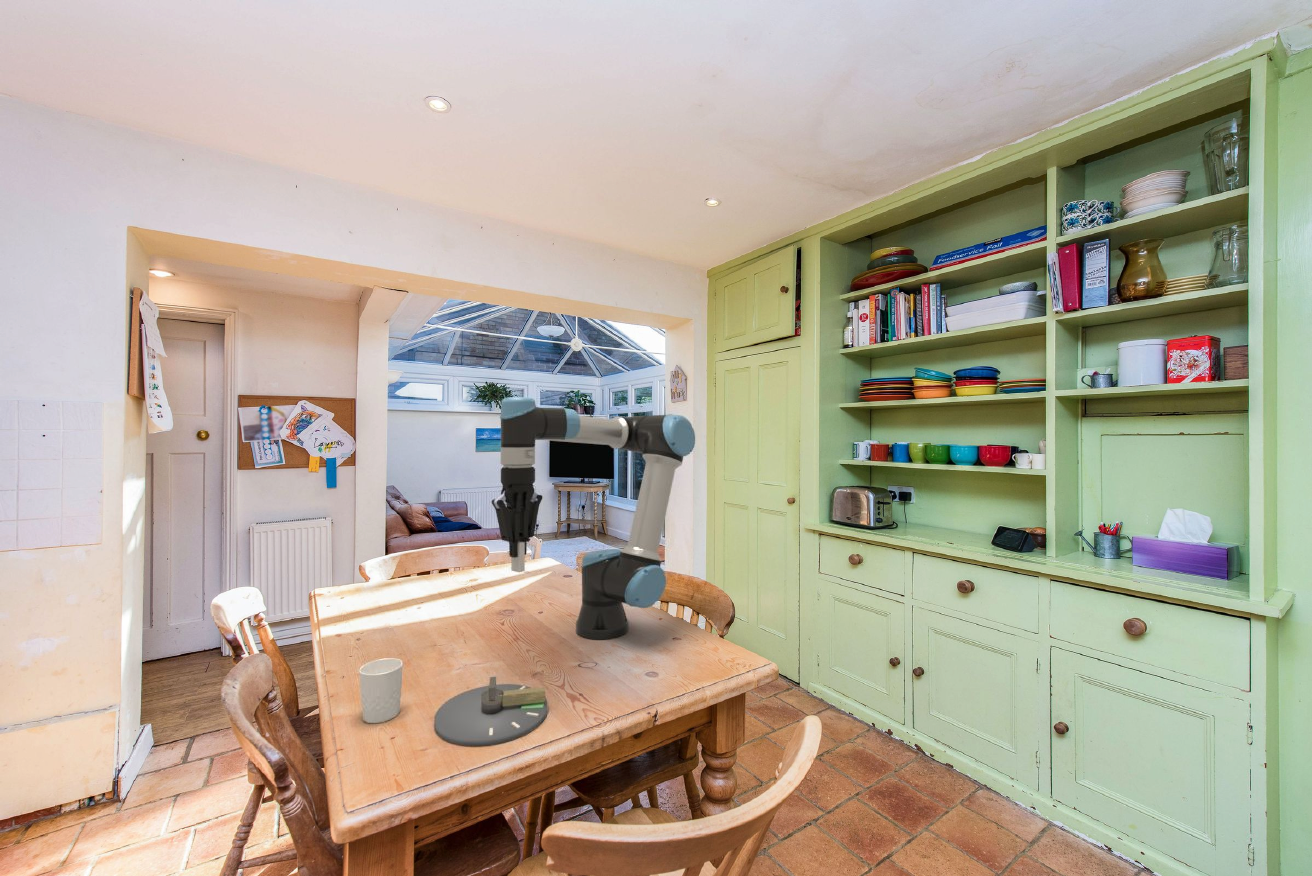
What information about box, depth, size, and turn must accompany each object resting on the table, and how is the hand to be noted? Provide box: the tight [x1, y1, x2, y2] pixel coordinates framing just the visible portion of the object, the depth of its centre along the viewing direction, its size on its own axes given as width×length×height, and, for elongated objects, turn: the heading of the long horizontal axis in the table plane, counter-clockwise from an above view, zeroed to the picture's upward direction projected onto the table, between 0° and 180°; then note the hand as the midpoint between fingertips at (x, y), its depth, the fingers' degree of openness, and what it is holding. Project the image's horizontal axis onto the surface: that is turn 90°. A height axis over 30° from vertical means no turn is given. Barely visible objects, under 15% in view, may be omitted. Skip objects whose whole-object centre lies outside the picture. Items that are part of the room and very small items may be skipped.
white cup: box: [358, 657, 404, 724], centre depth 110 cm, size 8×8×10 cm
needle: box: [481, 676, 546, 713], centre depth 111 cm, size 13×5×5 cm, turn 104°
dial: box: [433, 683, 548, 747], centre depth 110 cm, size 22×22×2 cm
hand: (518, 570), depth 122 cm, fingers closed
